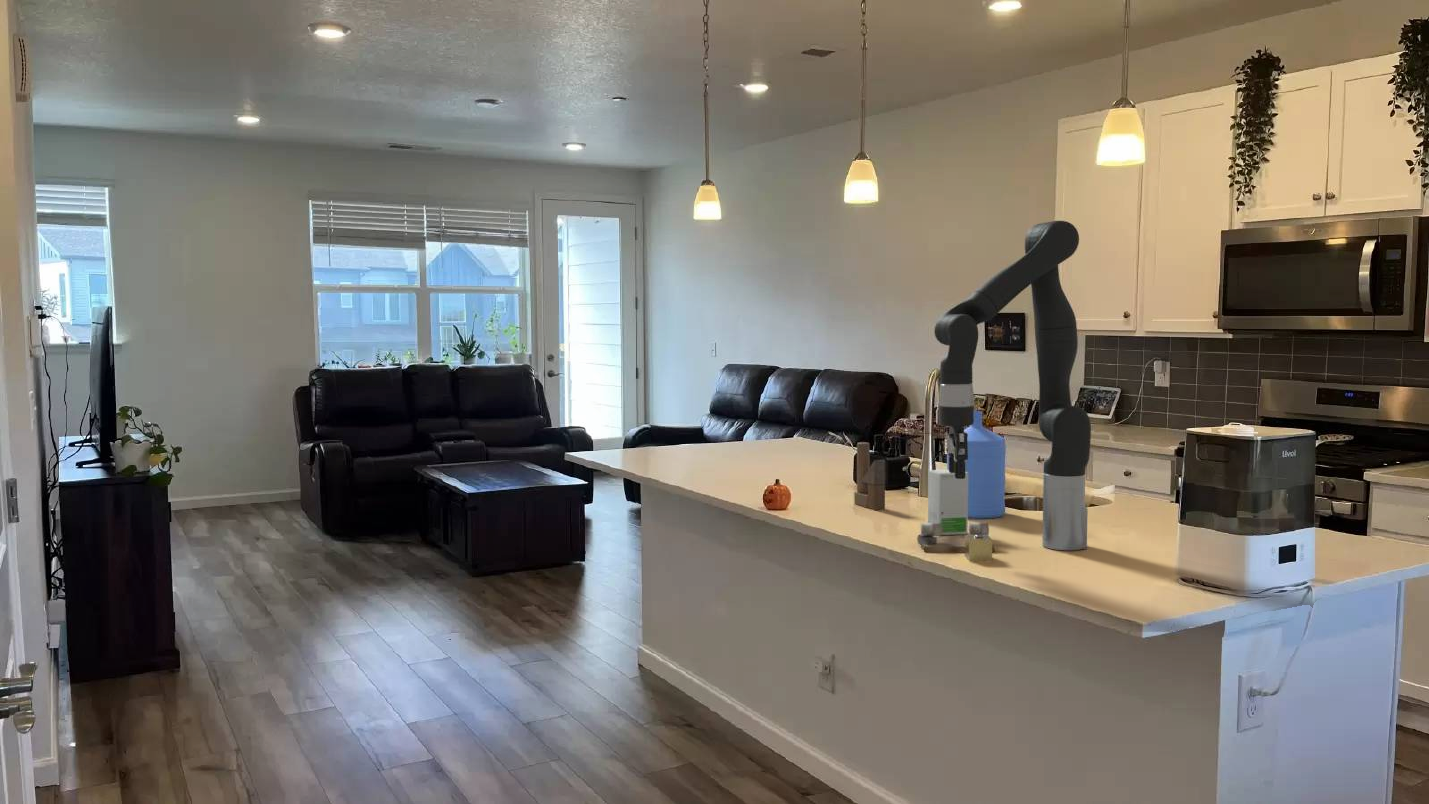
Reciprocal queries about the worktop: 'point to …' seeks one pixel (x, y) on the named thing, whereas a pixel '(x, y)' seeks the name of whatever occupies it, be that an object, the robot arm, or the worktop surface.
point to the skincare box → (948, 501)
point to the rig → (947, 543)
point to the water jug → (984, 471)
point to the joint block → (978, 547)
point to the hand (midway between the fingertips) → (956, 475)
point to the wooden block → (869, 479)
